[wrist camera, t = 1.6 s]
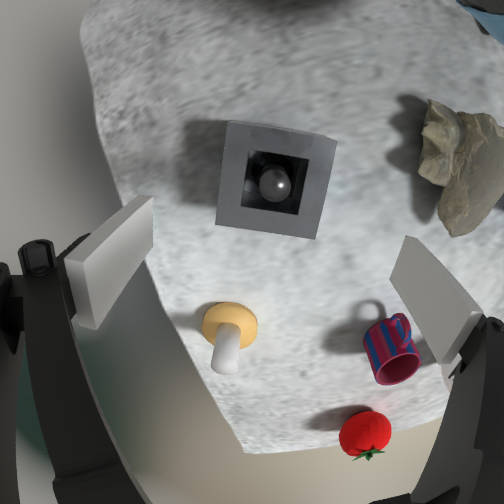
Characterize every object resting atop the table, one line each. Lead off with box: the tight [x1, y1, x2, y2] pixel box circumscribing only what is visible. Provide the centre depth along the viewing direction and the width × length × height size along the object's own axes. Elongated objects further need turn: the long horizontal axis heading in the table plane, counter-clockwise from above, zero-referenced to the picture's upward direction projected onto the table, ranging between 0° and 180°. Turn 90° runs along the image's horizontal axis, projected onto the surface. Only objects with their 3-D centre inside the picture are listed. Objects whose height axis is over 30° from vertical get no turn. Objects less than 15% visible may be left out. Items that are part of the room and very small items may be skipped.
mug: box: [363, 313, 421, 385], centre depth 34 cm, size 7×10×7 cm
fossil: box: [418, 99, 504, 237], centre depth 23 cm, size 14×10×10 cm
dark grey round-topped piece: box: [252, 152, 293, 202], centre depth 25 cm, size 4×4×6 cm
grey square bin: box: [215, 121, 337, 240], centre depth 26 cm, size 9×9×5 cm
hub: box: [202, 302, 257, 375], centre depth 34 cm, size 7×7×8 cm
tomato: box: [339, 411, 391, 461], centre depth 44 cm, size 10×10×10 cm
